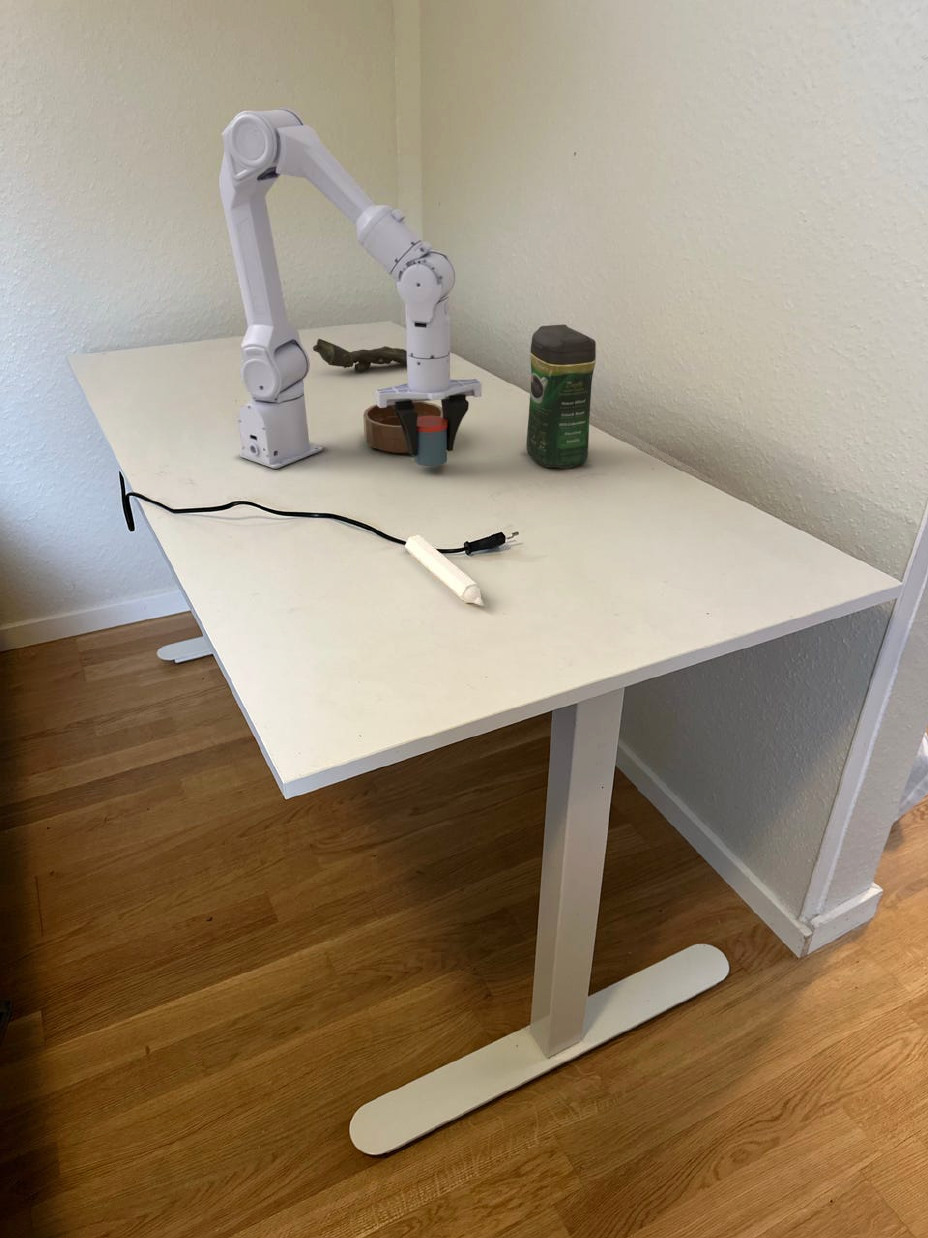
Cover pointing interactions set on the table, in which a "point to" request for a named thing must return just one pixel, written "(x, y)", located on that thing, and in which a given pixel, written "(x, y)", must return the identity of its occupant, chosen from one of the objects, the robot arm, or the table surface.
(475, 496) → the table surface
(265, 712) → the table surface
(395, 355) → the brown long irregular piece
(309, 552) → the table surface
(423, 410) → the bowl
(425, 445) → the container
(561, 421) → the coffee jar
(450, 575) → the marker
